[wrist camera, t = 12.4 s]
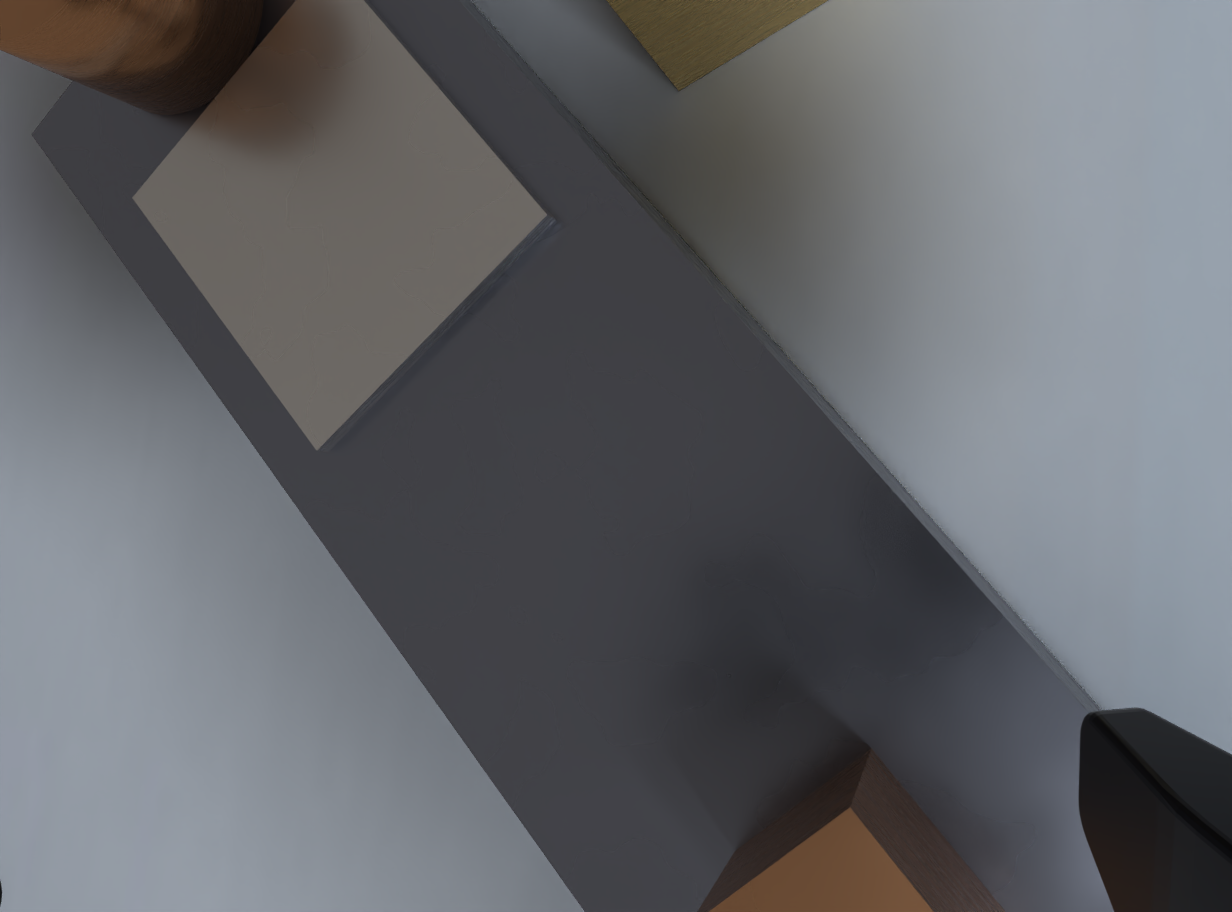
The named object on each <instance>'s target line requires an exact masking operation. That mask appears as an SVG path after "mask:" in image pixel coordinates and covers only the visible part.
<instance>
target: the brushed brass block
mask: <svg viewBox="0 0 1232 912" xmlns="http://www.w3.org/2000/svg"><path fill="white" fill-rule="evenodd" d="M606 1H607V2H608V3H609V4H610V6H611V7H612V8H613V9H614V11H615V12H616V13H617V14H618V16H619V17H620V18H621V19H622V21H623V22H624V23H625V24H626V26H627V27H628V28H629V29H630V31H631V32H632V33H633V34H634V35H635V37H636V38H637V39H638V40H639V42H640V43H641V44H642V45H643V47H644V48H645V49H646V50H647V52H648V53H649V54H650V55H651V57H652V58H653V59H654V60H655V62H656V63H657V64H658V65H659V67H660V68H661V69H662V70H663V72H664V73H665V74H666V75H667V77H668V78H669V79H670V80H671V82H672V83H673V84H674V85H675V87H676V88H677V89H678V90H679V91H680V90H681V89H683V88H685V87H686V86H688V85H690V84H691V83H693V82H695V81H696V80H698V79H700V78H701V77H703V76H704V75H706V74H708V73H709V72H711V71H713V70H714V69H716V68H718V67H719V66H721V65H723V64H724V63H726V62H728V61H729V60H731V59H732V58H734V57H736V56H737V55H739V54H741V53H742V52H744V51H746V50H747V49H749V48H751V47H752V46H754V45H756V44H757V43H759V42H760V41H762V40H764V39H765V38H767V37H769V36H770V35H772V34H774V33H775V32H777V31H779V30H780V29H782V28H784V27H785V26H787V25H788V24H790V23H792V22H793V21H795V20H797V19H798V18H800V17H802V16H803V15H805V14H807V13H808V12H810V11H812V10H813V9H815V8H816V7H818V6H820V5H821V4H823V3H825V2H826V1H828V0H606Z"/></svg>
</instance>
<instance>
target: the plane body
mask: <svg viewBox="0 0 1232 912" xmlns="http://www.w3.org/2000/svg"><path fill="white" fill-rule="evenodd" d="M0 50H2V51H4V52H7V53H9V54H11V55H14V56H16V57H18V58H21V59H23V60H26V61H28V62H30V63H33V64H35V65H37V66H40V67H42V68H45V69H47V70H49V71H52V72H54V73H56V74H59V75H61V76H63V77H66V78H68V79H71V80H73V82H72V83H71V84H70V86H69V87H68V88H67V90H66V91H65V92H64V93H63V95H62V96H61V97H60V99H59V100H58V101H57V102H56V104H55V105H54V106H53V108H52V109H51V110H50V111H49V113H48V114H47V115H46V117H45V118H44V119H43V120H42V122H41V123H40V124H39V126H38V127H37V128H36V129H35V131H34V132H33V133H32V136H33V137H34V138H35V140H36V141H37V143H38V144H39V145H40V147H41V148H42V150H43V151H44V152H45V154H46V155H47V157H48V158H49V159H50V161H51V162H52V164H53V165H54V166H55V168H56V169H57V171H58V172H59V173H60V175H61V176H62V178H63V179H64V180H65V182H66V183H67V185H68V186H69V188H70V189H71V190H72V192H73V193H74V195H75V196H76V197H77V199H78V200H79V202H80V203H81V204H82V206H83V207H84V209H85V210H86V211H87V213H88V214H89V216H90V217H91V218H92V220H93V221H94V223H95V224H96V225H97V227H98V228H99V230H100V231H101V232H102V234H103V235H104V237H105V238H106V240H107V241H108V242H109V244H110V245H111V247H112V248H113V249H114V251H115V252H116V254H117V255H118V256H119V258H120V259H121V261H122V262H123V263H124V265H125V266H126V268H127V269H128V270H129V272H130V273H131V275H132V276H133V277H134V279H135V280H136V282H137V283H138V284H139V286H140V287H141V289H142V290H143V291H144V293H145V294H146V296H147V297H148V299H149V300H150V301H151V303H152V304H153V306H154V307H155V308H156V310H157V311H158V313H159V314H160V315H161V317H162V318H163V320H164V321H165V322H166V324H167V325H168V327H169V328H170V329H171V331H172V332H173V334H174V335H175V336H176V338H177V339H178V341H179V342H180V343H181V345H182V346H183V348H184V349H185V350H186V352H187V353H188V355H189V356H190V358H191V359H192V360H193V362H194V363H195V365H196V366H197V367H198V369H199V370H200V372H201V373H202V374H203V376H204V377H205V379H206V380H207V381H208V383H209V384H210V386H211V387H212V388H213V390H214V391H215V393H216V394H217V395H218V397H219V398H220V400H221V401H222V402H223V404H224V405H225V407H226V408H227V409H228V411H229V412H230V414H231V415H232V417H233V418H234V419H235V421H236V422H237V424H238V425H239V426H240V428H241V429H242V431H243V432H244V433H245V435H246V436H247V438H248V439H249V440H250V442H251V443H252V445H253V446H254V447H255V449H256V450H257V452H258V453H259V454H260V456H261V457H262V459H263V460H264V461H265V463H266V464H267V466H268V467H269V468H270V470H271V471H272V473H273V474H274V476H275V477H276V478H277V480H278V481H279V483H280V484H281V485H282V487H283V488H284V490H285V491H286V492H287V494H288V495H289V497H290V498H291V499H292V501H293V502H294V504H295V505H296V506H297V508H298V509H299V511H300V512H301V513H302V515H303V516H304V518H305V519H306V520H307V522H308V523H309V525H310V526H311V527H312V529H313V530H314V532H315V533H316V535H317V536H318V537H319V539H320V540H321V542H322V543H323V544H324V546H325V547H326V549H327V550H328V551H329V553H330V554H331V556H332V557H333V558H334V560H335V561H336V563H337V564H338V565H339V567H340V568H341V570H342V571H343V572H344V574H345V575H346V577H347V578H348V579H349V581H350V582H351V584H352V585H353V586H354V588H355V589H356V591H357V592H358V594H359V595H360V596H361V598H362V599H363V601H364V602H365V603H366V605H367V606H368V608H369V609H370V610H371V612H372V613H373V615H374V616H375V617H376V619H377V620H378V622H379V623H380V624H381V626H382V627H383V629H384V630H385V631H386V633H387V634H388V636H389V637H390V638H391V640H392V641H393V643H394V644H395V645H396V647H397V648H398V650H399V651H400V653H401V654H402V655H403V657H404V658H405V660H406V661H407V662H408V664H409V665H410V667H411V668H412V669H413V671H414V672H415V674H416V675H417V676H418V678H419V679H420V681H421V682H422V683H423V685H424V686H425V688H426V689H427V690H428V692H429V693H430V695H431V696H432V697H433V699H434V700H435V702H436V703H437V704H438V706H439V707H440V709H441V710H442V712H443V713H444V714H445V716H446V717H447V719H448V720H449V721H450V723H451V724H452V726H453V727H454V728H455V730H456V731H457V733H458V734H459V735H460V737H461V738H462V740H463V741H464V742H465V744H466V745H467V747H468V748H469V749H470V751H471V752H472V754H473V755H474V756H475V758H476V759H477V761H478V762H479V763H480V765H481V766H482V768H483V769H484V771H485V772H486V773H487V775H488V776H489V778H490V779H491V780H492V782H493V783H494V785H495V786H496V787H497V789H498V790H499V792H500V793H501V794H502V796H503V797H504V799H505V800H506V801H507V803H508V804H509V806H510V807H511V808H512V810H513V811H514V813H515V814H516V815H517V817H518V818H519V820H520V821H521V822H522V824H523V825H524V827H525V828H526V830H527V831H528V832H529V834H530V835H531V837H532V838H533V839H534V841H535V842H536V844H537V845H538V846H539V848H540V849H541V851H542V852H543V853H544V855H545V856H546V858H547V859H548V860H549V862H550V863H551V865H552V866H553V867H554V869H555V870H556V872H557V873H558V874H559V876H560V877H561V879H562V880H563V881H564V883H565V884H566V886H567V887H568V889H569V890H570V891H571V893H572V894H573V896H574V897H575V898H576V900H577V901H578V903H579V904H580V905H581V907H582V908H583V910H584V911H585V912H1114V910H1113V907H1112V905H1111V902H1110V899H1109V897H1108V894H1107V892H1106V889H1105V886H1104V884H1103V881H1102V879H1101V876H1100V873H1099V871H1098V868H1097V866H1096V863H1095V860H1094V858H1093V855H1092V852H1091V850H1090V847H1089V845H1088V842H1087V839H1086V837H1085V834H1084V831H1083V827H1082V823H1081V818H1080V813H1079V804H1078V794H1079V758H1080V730H1081V725H1082V721H1083V719H1084V717H1085V716H1086V715H1087V714H1088V713H1090V712H1092V711H1101V709H1100V708H1099V707H1098V705H1097V704H1096V703H1095V702H1094V701H1093V700H1092V699H1091V698H1090V696H1089V695H1088V694H1087V693H1086V692H1085V691H1084V690H1083V689H1082V687H1081V686H1080V685H1079V684H1078V683H1077V682H1076V681H1075V680H1074V678H1073V677H1072V676H1071V675H1070V674H1069V673H1068V672H1067V671H1066V669H1065V668H1064V667H1063V666H1062V665H1061V664H1060V663H1059V662H1058V660H1057V659H1056V658H1055V657H1054V656H1053V655H1052V654H1051V653H1050V651H1049V650H1048V649H1047V648H1046V647H1045V646H1044V645H1043V644H1042V642H1041V641H1040V640H1039V639H1038V638H1037V637H1036V636H1035V635H1034V633H1033V632H1032V631H1031V630H1030V629H1029V628H1028V627H1027V626H1026V624H1025V623H1024V622H1023V621H1022V620H1021V619H1020V618H1019V617H1018V616H1017V614H1016V613H1015V612H1014V611H1013V610H1012V609H1011V608H1010V607H1009V605H1008V604H1007V603H1006V602H1005V601H1004V600H1003V599H1002V598H1001V596H1000V595H999V594H998V593H997V592H996V591H995V590H994V589H993V587H992V586H991V585H990V584H989V583H988V582H987V581H986V580H985V578H984V577H983V576H982V575H981V574H980V573H979V572H978V571H977V569H976V568H975V567H974V566H973V565H972V564H971V563H970V562H969V560H968V559H967V558H966V557H965V556H964V555H963V554H962V553H961V551H960V550H959V549H958V548H957V547H956V546H955V545H954V544H953V542H952V541H951V540H950V539H949V538H948V537H947V536H946V535H945V533H944V532H943V531H942V530H941V529H940V528H939V527H938V526H937V524H936V523H935V522H934V521H933V520H932V519H931V518H930V517H929V515H928V514H927V513H926V512H925V511H924V510H923V509H922V508H921V506H920V505H919V504H918V503H917V502H916V501H915V500H914V499H913V497H912V496H911V495H910V494H909V493H908V492H907V491H906V490H905V488H904V487H903V486H902V485H901V484H900V483H899V482H898V481H897V479H896V478H895V477H894V476H893V475H892V474H891V473H890V472H889V471H888V469H887V468H886V467H885V466H884V465H883V464H882V463H881V462H880V460H879V459H878V458H877V457H876V456H875V455H874V454H873V453H872V451H871V450H870V449H869V448H868V447H867V446H866V445H865V444H864V442H863V441H862V440H861V439H860V438H859V437H858V436H857V435H856V433H855V432H854V431H853V430H852V429H851V428H850V427H849V426H848V424H847V423H846V422H845V421H844V420H843V419H842V418H841V417H840V415H839V414H838V413H837V412H836V411H835V410H834V409H833V408H832V406H831V405H830V404H829V403H828V402H827V401H826V400H825V399H824V397H823V396H822V395H821V394H820V393H819V392H818V391H817V390H816V388H815V387H814V386H813V385H812V384H811V383H810V382H809V381H808V379H807V378H806V377H805V376H804V375H803V374H802V373H801V372H800V370H799V369H798V368H797V367H796V366H795V365H794V364H793V363H792V361H791V360H790V359H789V358H788V357H787V356H786V355H785V354H784V352H783V351H782V350H781V349H780V348H779V347H778V346H777V345H776V343H775V342H774V341H773V340H772V339H771V338H770V337H769V336H768V334H767V333H766V332H765V331H764V330H763V329H762V328H761V327H760V326H759V324H758V323H757V322H756V321H755V320H754V319H753V318H752V317H751V315H750V314H749V313H748V312H747V311H746V310H745V309H744V308H743V306H742V305H741V304H740V303H739V302H738V301H737V300H736V299H735V297H734V296H733V295H732V294H731V293H730V292H729V291H728V290H727V288H726V287H725V286H724V285H723V284H722V283H721V282H720V281H719V279H718V278H717V277H716V276H715V275H714V274H713V273H712V272H711V270H710V269H709V268H708V267H707V266H706V265H705V264H704V263H703V261H702V260H701V259H700V258H699V257H698V256H697V255H696V254H695V252H694V251H693V250H692V249H691V248H690V247H689V246H688V245H687V243H686V242H685V241H684V240H683V239H682V238H681V237H680V236H679V234H678V233H677V232H676V231H675V230H674V229H673V228H672V227H671V225H670V224H669V223H668V222H667V221H666V220H665V219H664V218H663V216H662V215H661V214H660V213H659V212H658V211H657V210H656V209H655V207H654V206H653V205H652V204H651V203H650V202H649V201H648V200H647V198H646V197H645V196H644V195H643V194H642V193H641V192H640V191H639V189H638V188H637V187H636V186H635V185H634V184H633V183H632V182H631V181H630V179H629V178H628V177H627V176H626V175H625V174H624V173H623V172H622V170H621V169H620V168H619V167H618V166H617V165H616V164H615V163H614V161H613V160H612V159H611V158H610V157H609V156H608V155H607V154H606V152H605V151H604V150H603V149H602V148H601V147H600V146H599V145H598V143H597V142H596V141H595V140H594V139H593V138H592V137H591V136H590V134H589V133H588V132H587V131H586V130H585V129H584V128H583V127H582V125H581V124H580V123H579V122H578V121H577V120H576V119H575V118H574V116H573V115H572V114H571V113H570V112H569V111H568V110H567V109H566V107H565V106H564V105H563V104H562V103H561V102H560V101H559V100H558V98H557V97H556V96H555V95H554V94H553V93H552V92H551V91H550V89H549V88H548V87H547V86H546V85H545V84H544V83H543V82H542V80H541V79H540V78H539V77H538V76H537V75H536V74H535V73H534V71H533V70H532V69H531V68H530V67H529V66H528V65H527V64H526V62H525V61H524V60H523V59H522V58H521V57H520V56H519V55H518V53H517V52H516V51H515V50H514V49H513V48H512V47H511V46H510V45H509V43H508V42H507V41H506V40H505V39H504V38H503V37H502V36H501V34H500V33H499V32H498V31H497V30H496V29H495V28H494V27H493V25H492V24H491V23H490V22H489V21H488V20H487V19H486V18H485V16H484V15H483V14H482V13H481V12H480V11H479V10H478V9H477V7H476V6H475V5H474V4H473V3H472V2H471V1H470V0H0Z"/></svg>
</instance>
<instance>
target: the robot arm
mask: <svg viewBox="0 0 1232 912" xmlns="http://www.w3.org/2000/svg"><path fill="white" fill-rule="evenodd" d="M1078 804H1079V813H1080V818H1081V823H1082V827H1083V831H1084V834H1085V837H1086V839H1087V842H1088V845H1089V847H1090V850H1091V852H1092V855H1093V858H1094V860H1095V863H1096V866H1097V868H1098V871H1099V873H1100V876H1101V879H1102V881H1103V884H1104V886H1105V889H1106V892H1107V894H1108V897H1109V899H1110V902H1111V905H1112V907H1113V910H1114V912H1232V754H1230V753H1228V752H1226V751H1224V750H1222V749H1220V748H1218V747H1216V746H1215V745H1213V744H1211V743H1209V742H1207V741H1205V740H1203V739H1201V738H1199V737H1197V736H1195V735H1194V734H1192V733H1190V732H1188V731H1186V730H1184V729H1182V728H1180V727H1178V726H1176V725H1175V724H1173V723H1171V722H1169V721H1167V720H1165V719H1163V718H1161V717H1159V716H1157V715H1156V714H1154V713H1152V712H1150V711H1147V710H1145V709H1142V708H1125V709H1113V710H1101V711H1092V712H1090V713H1088V714H1087V715H1086V716H1085V717H1084V719H1083V721H1082V725H1081V730H1080V758H1079V794H1078ZM1 900H2V887H1V881H0V905H1Z"/></svg>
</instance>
